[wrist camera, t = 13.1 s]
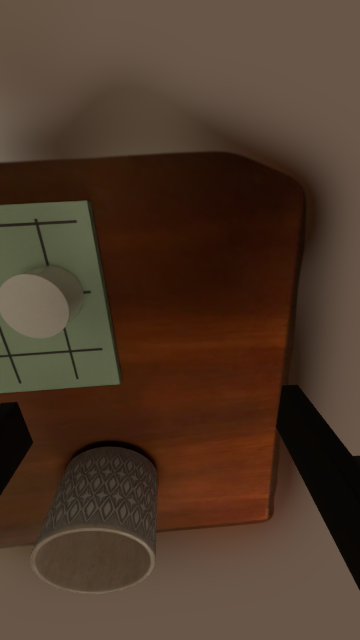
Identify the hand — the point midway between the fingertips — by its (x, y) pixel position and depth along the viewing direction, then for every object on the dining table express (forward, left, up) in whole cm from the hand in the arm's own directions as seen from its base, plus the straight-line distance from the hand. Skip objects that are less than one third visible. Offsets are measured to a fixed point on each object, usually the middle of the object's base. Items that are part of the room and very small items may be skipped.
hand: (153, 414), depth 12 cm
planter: (+34, +7, -21) cm, 41 cm away
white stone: (+5, -12, -19) cm, 23 cm away
